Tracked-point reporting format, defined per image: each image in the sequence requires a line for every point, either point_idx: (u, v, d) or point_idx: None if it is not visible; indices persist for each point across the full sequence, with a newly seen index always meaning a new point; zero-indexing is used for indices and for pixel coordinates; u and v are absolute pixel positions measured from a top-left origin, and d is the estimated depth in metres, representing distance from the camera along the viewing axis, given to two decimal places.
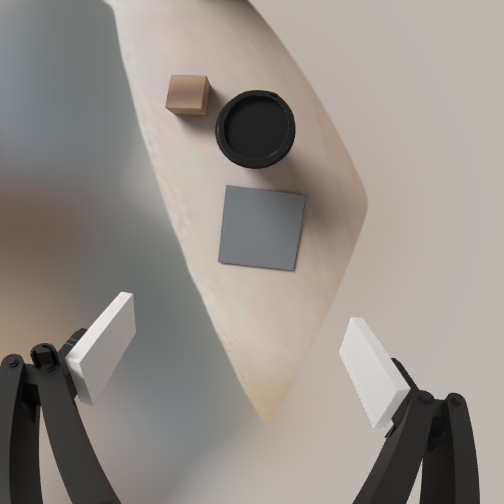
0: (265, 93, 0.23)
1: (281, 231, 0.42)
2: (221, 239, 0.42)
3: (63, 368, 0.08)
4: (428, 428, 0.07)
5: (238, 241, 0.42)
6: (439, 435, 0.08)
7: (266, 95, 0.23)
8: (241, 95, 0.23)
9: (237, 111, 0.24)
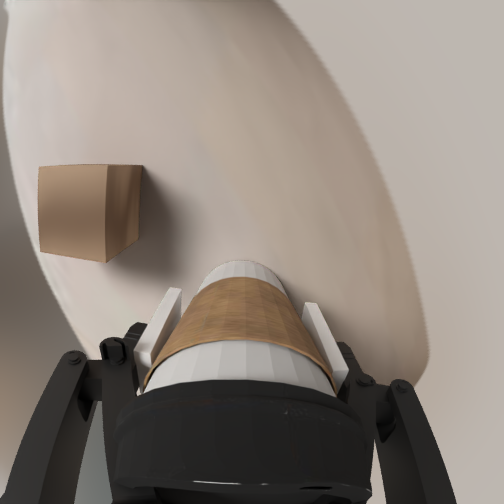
0: (279, 489, 0.04)
1: None
2: None
3: None
4: (374, 411, 0.08)
5: None
6: (389, 422, 0.09)
7: None
8: (161, 482, 0.04)
9: None
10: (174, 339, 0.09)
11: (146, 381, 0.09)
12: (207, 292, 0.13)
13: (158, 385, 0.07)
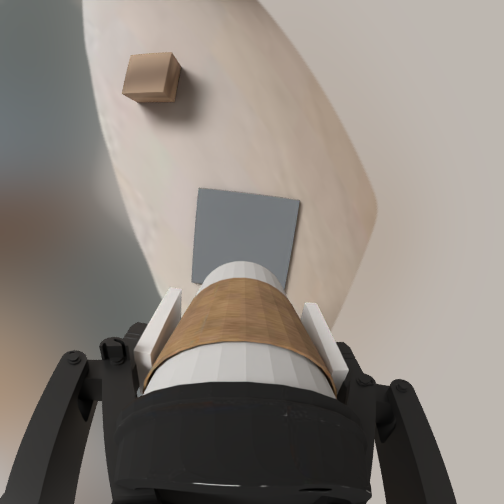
0: (278, 491, 0.04)
1: (269, 245, 0.33)
2: (194, 255, 0.33)
3: None
4: (373, 411, 0.08)
5: (215, 257, 0.34)
6: (389, 422, 0.09)
7: (282, 491, 0.04)
8: (161, 483, 0.04)
9: None
10: (174, 340, 0.09)
11: (146, 382, 0.09)
12: (207, 293, 0.13)
13: (158, 387, 0.07)
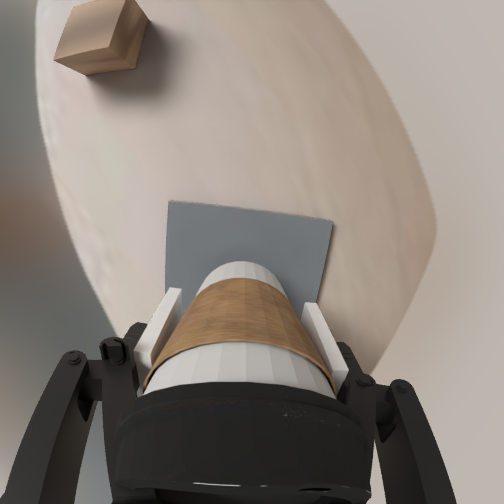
0: (278, 491, 0.04)
1: None
2: None
3: None
4: (373, 411, 0.08)
5: None
6: (389, 422, 0.09)
7: (282, 490, 0.04)
8: (162, 483, 0.04)
9: None
10: (174, 340, 0.09)
11: (146, 382, 0.09)
12: (207, 293, 0.13)
13: (158, 387, 0.07)
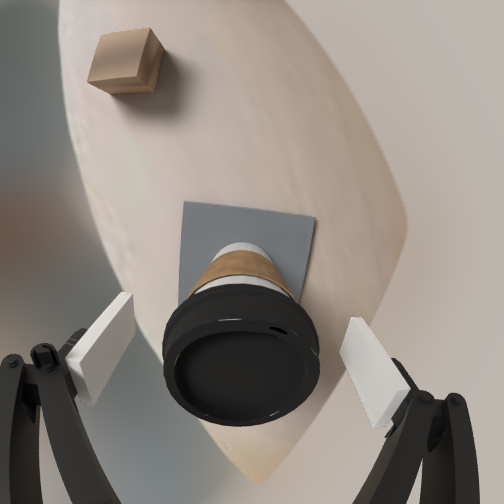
0: (259, 327, 0.10)
1: None
2: (180, 287, 0.26)
3: (63, 368, 0.08)
4: (428, 428, 0.07)
5: None
6: (439, 435, 0.08)
7: (261, 330, 0.11)
8: (201, 329, 0.11)
9: (198, 347, 0.12)
10: (201, 280, 0.16)
11: None
12: (219, 259, 0.20)
13: None
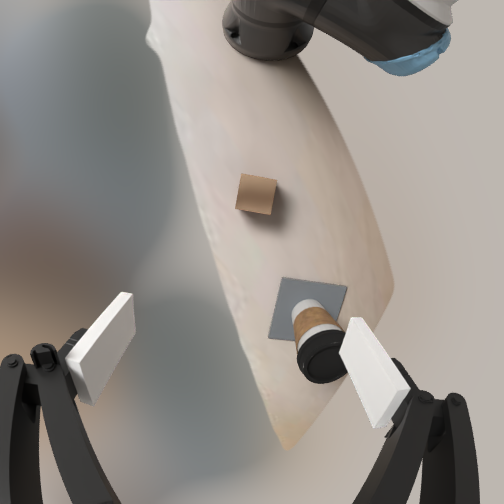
0: None
1: None
2: (273, 321, 0.47)
3: (63, 368, 0.08)
4: (428, 428, 0.07)
5: (287, 322, 0.48)
6: (439, 435, 0.08)
7: None
8: (324, 346, 0.32)
9: (318, 352, 0.33)
10: (308, 325, 0.38)
11: (300, 337, 0.37)
12: (307, 312, 0.41)
13: (312, 334, 0.35)
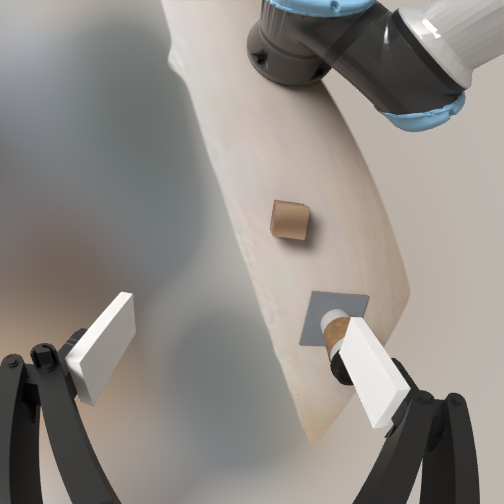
0: None
1: None
2: (304, 330, 0.51)
3: (63, 368, 0.08)
4: (428, 428, 0.07)
5: (316, 330, 0.52)
6: (439, 435, 0.08)
7: None
8: None
9: None
10: (339, 335, 0.41)
11: (332, 346, 0.41)
12: (336, 322, 0.45)
13: None
